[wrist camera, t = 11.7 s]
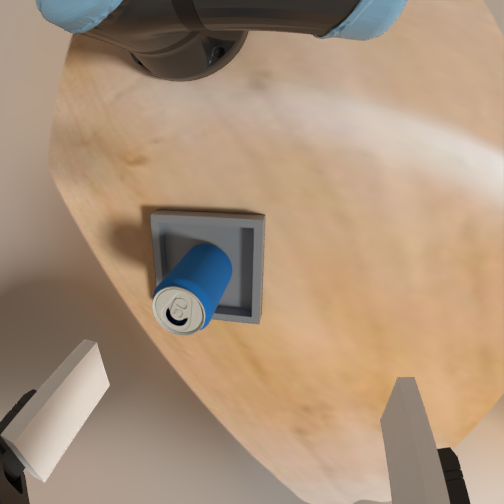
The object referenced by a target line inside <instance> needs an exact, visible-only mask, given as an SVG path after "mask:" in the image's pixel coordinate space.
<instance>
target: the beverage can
mask: <svg viewBox="0 0 504 504" xmlns="http://www.w3.org/2000/svg"><path fill="white" fill-rule="evenodd" d="M231 276H232V264H231V261H230V259H229V257H228V256H227V254H226V253H225V252H224V251H223V250H221V249H220V248H218V247H216V246H214V245H210V244H201V245H197V246H195V247H193V248H192V249H190V250H189V251H188V253H187V254H186V255H185V256H184V257H183V258H182V259H181V260H180V261H179V262H178V264H177V265H176V266H175V267H174V268H173V269H172V270H171V271H170V272H169V274H168V275H167V276H166V277H165V278H164V279H163V280H162V281H161V282H160V284H159V285H158V286H157V287H156V289H155V292H154V295H153V302H152V310H153V314H154V316H155V318H156V320H157V321H158V323H159V324H160V325H161V326H162V327H163V328H164V329H166V330H167V331H169V332H171V333H173V334H175V335H180V336H189V335H193V334H195V333H197V332H198V331H200V330H202V329H203V328H205V327H206V326H207V325H208V324H209V322H210V320H211V318H212V316H213V314H214V312H215V310H216V308H217V306H218V304H219V302H220V300H221V298H222V295H223V293H224V291H225V289H226V287H227V285H228V283H229V281H230V279H231Z"/></svg>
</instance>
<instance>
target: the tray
mask: <svg viewBox="0 0 504 504" xmlns="http://www.w3.org/2000/svg"><path fill="white" fill-rule="evenodd" d="M150 218H151V232H152V245H153V256H154V266H155V276H156V285H157V286H158V285H159V284H160V282H161V281H162V280H163V279H164V278H165V277H166V276H167V275H168V274H169V272H170V271H171V270H172V269H173V268H174V267H175V266H176V265H177V264H178V262H179V261H180V260H181V259H182V258H183V257H184V256H185V255H186V254H187V253H188V251H189V250H190V249H192V248H193V247H195V246H197V245H201V244H210V245H214V246H216V247H218V248H220V249H221V250H223V251H224V252H225V253H226V254H227V256H228V257H229V259H230V261H231V264H232V276H231V279H230V281H229V283H228V285H227V287H226V289H225V291H224V293H223V295H222V298H221V300H220V302H219V304H218V306H217V308H216V310H215V312H214V314H213V316H212V318H211V319H214V320H223V321H232V322H241V323H251V324H259V323H260V319H261V314H262V290H263V266H264V240H265V215H259V214H241V213H223V212H202V211H178V210H157V211H155V212H154V213H152V214H150Z"/></svg>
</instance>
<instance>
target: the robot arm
mask: <svg viewBox="0 0 504 504" xmlns="http://www.w3.org/2000/svg"><path fill="white" fill-rule="evenodd" d="M406 3H407V0H36V4H37V7H38V9H39V11H40V12H41V14H42V15H43V17H44V18H45V19H46V20H47V21H49V22H50V23H52V24H55V25H57V26H59V27H61V28H63V29H64V30H65V31H68V32H70V33H74V34H75V33H79V34H82V35H86V36H89V37H92V38H95V39H98V40H101V41H104V42H107V43H110V44H113V45H116V46H119V47H122V48H125V49H128V51H129V52H130V54H131V56H132V57H133V59H134V60H135V61H136V63H137V64H138V65H139V66H140V67H141V68H143V69H144V70H145V71H147V72H148V73H150V74H152V75H154V76H157V77H160V78H163V79H166V80H170V81H192V80H197V79H201V78H204V77H206V76H209V75H211V74H213V73H215V72H217V71H218V70H220V69H221V68H223V67H224V66H225V65H227V64H228V63H229V62H230V61H231V60H232V59H233V58H234V57H235V56H236V55H237V53H238V52H239V51H240V49H241V47H242V46H243V44H244V42H245V40H246V37H247V34H248V30H251V31H276V32H291V33H302V34H312V35H314V37H316V38H320V39H324V38H331V37H336V38H344V39H352V40H361V41H362V40H369V39H373V38H375V37H379V36H381V35H382V34H384V33H385V32H386V31H387V30H388V29H389V28H390V27H391V26H392V25H393V24H394V23H395V21H396V20H397V19H398V17H399V16H400V14H401V12H402V10H403V9H404V7H405V5H406ZM109 386H110V384H109V382H108V378H107V375H106V372H105V369H104V366H103V362H102V359H101V356H100V352H99V349H98V345H97V342H93V341H89V340H85V339H84V340H83V341H82V342H81V343H80V344H79V345H78V346H77V347H76V348H75V349H74V351H73V352H72V353H71V354H70V355H69V356H68V357H67V358H66V359H65V360H64V361H63V362H62V364H61V365H60V366H59V367H58V368H57V369H56V370H55V371H54V372H53V374H52V375H51V376H50V377H49V378H48V380H46V381H45V383H44V384H43V385H42V386H41V387H40V388H39V390H38V391H36V390H34V389H33V390H31V391H29V392H28V393H26V394H25V395H23V397H22V398H21V399H20V400H19V401H18V402H17V404H15V406H14V407H13V408H12V410H10V411H9V413H8V414H7V415H6V416H5V417H4V418H3V420H2V421H1V422H0V504H30V503H29V498H28V493H27V485H26V480H25V475H24V472H23V470H24V469H25V468H26V469H27V470H28V471H29V473H30V474H31V475H32V476H34V477H36V478H38V479H39V480H41V481H43V482H46V480H47V478H48V477H49V475H50V474H51V472H52V471H53V469H54V467H55V466H56V464H57V463H58V461H59V460H60V458H61V457H62V455H63V454H64V452H65V451H66V449H67V448H68V446H69V445H70V443H71V442H72V440H73V438H74V437H75V436H76V434H77V432H78V431H79V430H80V428H81V427H82V425H83V424H84V422H85V421H86V419H87V418H88V416H89V415H90V413H91V412H92V410H93V409H94V407H95V406H96V404H97V403H98V402H99V400H100V399H101V397H102V396H103V394H104V393H105V391H106V390H107V389H108V387H109ZM380 422H381V427H382V433H383V439H384V445H385V452H386V458H387V465H388V472H389V480H390V488H391V496H392V504H470V500H469V497H468V492H467V489H466V485H465V481H464V479H463V474H462V471H461V470H460V469H461V467H460V464H459V460H458V457H457V456H456V454H455V453H454V452H453V451H452V449H451V448H450V447H449V448H442V449H437V448H436V444H435V441H434V437H433V434H432V431H431V427H430V424H429V421H428V417H427V414H426V411H425V408H424V405H423V402H422V399H421V396H420V393H419V390H418V387H417V384H416V381H415V378H414V377H398V378H397V380H396V383H395V386H394V388H393V391H392V393H391V396H390V398H389V401H388V403H387V405H386V408H385V410H384V412H383V415H382V417H381V419H380Z"/></svg>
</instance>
